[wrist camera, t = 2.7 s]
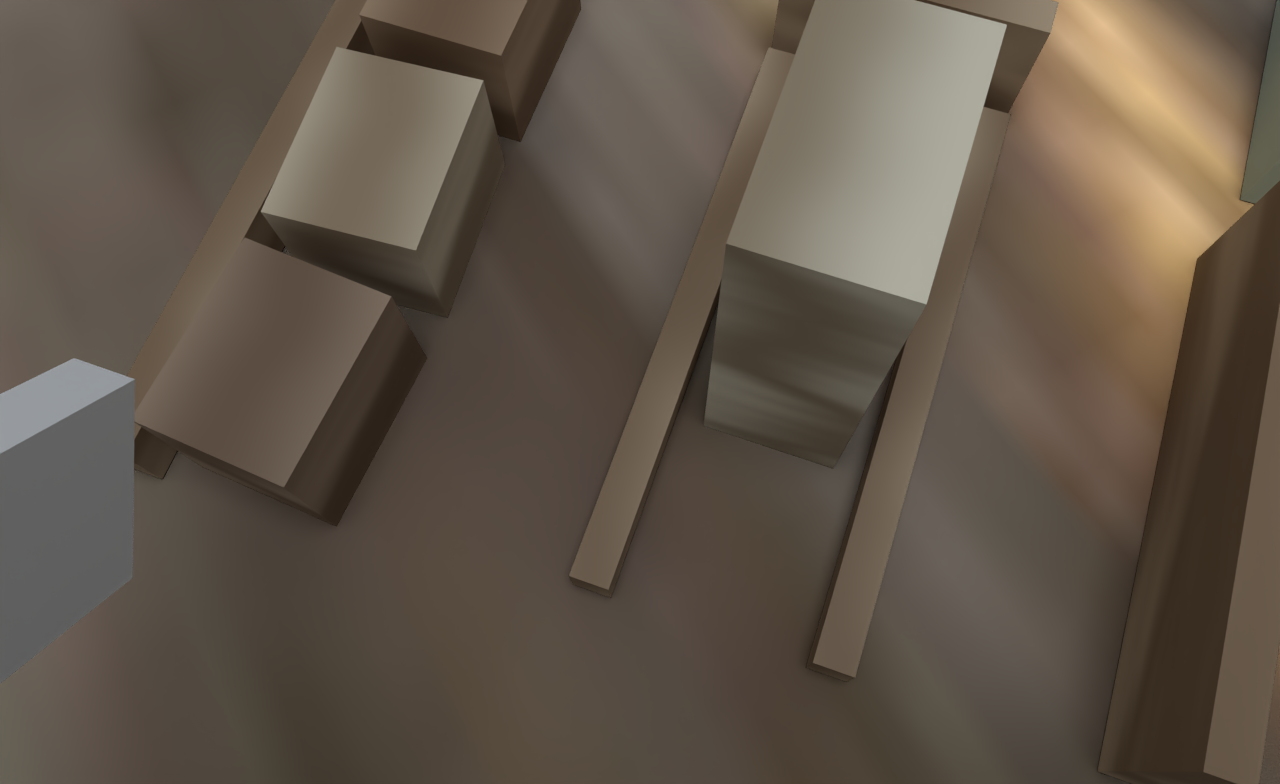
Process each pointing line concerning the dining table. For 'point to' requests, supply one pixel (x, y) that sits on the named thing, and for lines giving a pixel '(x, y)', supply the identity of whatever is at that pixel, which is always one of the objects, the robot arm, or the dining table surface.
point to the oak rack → (1187, 465)
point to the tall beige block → (845, 218)
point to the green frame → (1266, 125)
